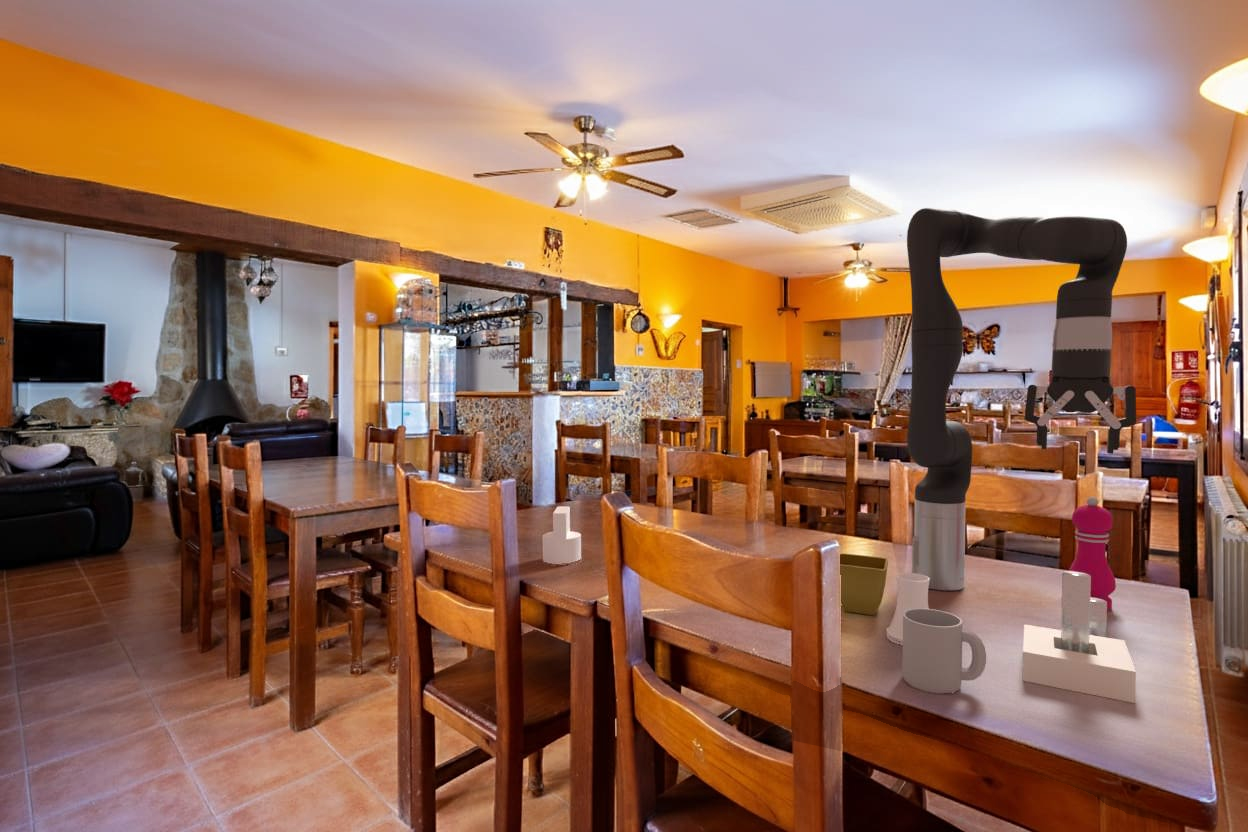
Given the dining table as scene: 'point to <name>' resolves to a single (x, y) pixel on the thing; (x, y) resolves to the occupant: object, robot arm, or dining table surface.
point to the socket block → (1079, 665)
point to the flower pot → (862, 582)
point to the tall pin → (1075, 611)
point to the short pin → (1098, 617)
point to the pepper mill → (1094, 548)
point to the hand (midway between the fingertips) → (1076, 451)
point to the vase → (908, 601)
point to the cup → (938, 651)
